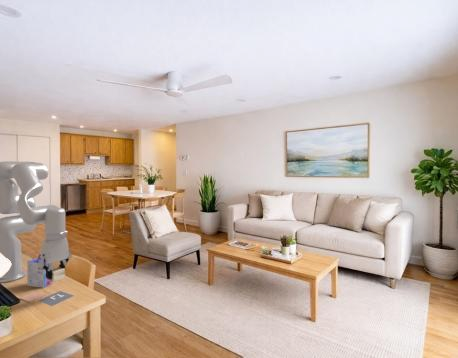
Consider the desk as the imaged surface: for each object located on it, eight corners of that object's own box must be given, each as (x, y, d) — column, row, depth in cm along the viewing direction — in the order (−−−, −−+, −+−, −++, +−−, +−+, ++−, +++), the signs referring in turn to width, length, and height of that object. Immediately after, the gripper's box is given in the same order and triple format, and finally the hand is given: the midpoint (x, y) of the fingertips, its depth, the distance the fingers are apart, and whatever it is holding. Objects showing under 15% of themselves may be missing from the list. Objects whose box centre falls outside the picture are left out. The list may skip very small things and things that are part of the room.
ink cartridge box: (53, 283, 136) (53, 254, 135) (44, 288, 130) (43, 258, 129) (37, 281, 138) (36, 253, 137) (26, 286, 132) (26, 256, 131)
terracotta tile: (19, 298, 120) (19, 297, 120) (36, 292, 126) (36, 291, 126) (29, 302, 117) (29, 301, 117) (46, 295, 123) (46, 294, 123)
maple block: (46, 279, 121) (46, 270, 120) (57, 275, 125) (57, 266, 125) (53, 281, 119) (53, 272, 118) (64, 277, 123) (64, 268, 123)
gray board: (37, 300, 118) (37, 300, 118) (60, 291, 127) (60, 290, 127) (52, 306, 114) (52, 305, 114) (74, 295, 123) (74, 295, 123)
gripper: (68, 230, 130) (68, 268, 131) (29, 239, 115) (30, 281, 116) (79, 233, 127) (79, 271, 128) (40, 242, 111) (40, 285, 113)
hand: (55, 275), depth 122 cm, fingers closed on maple block, 5 cm apart
